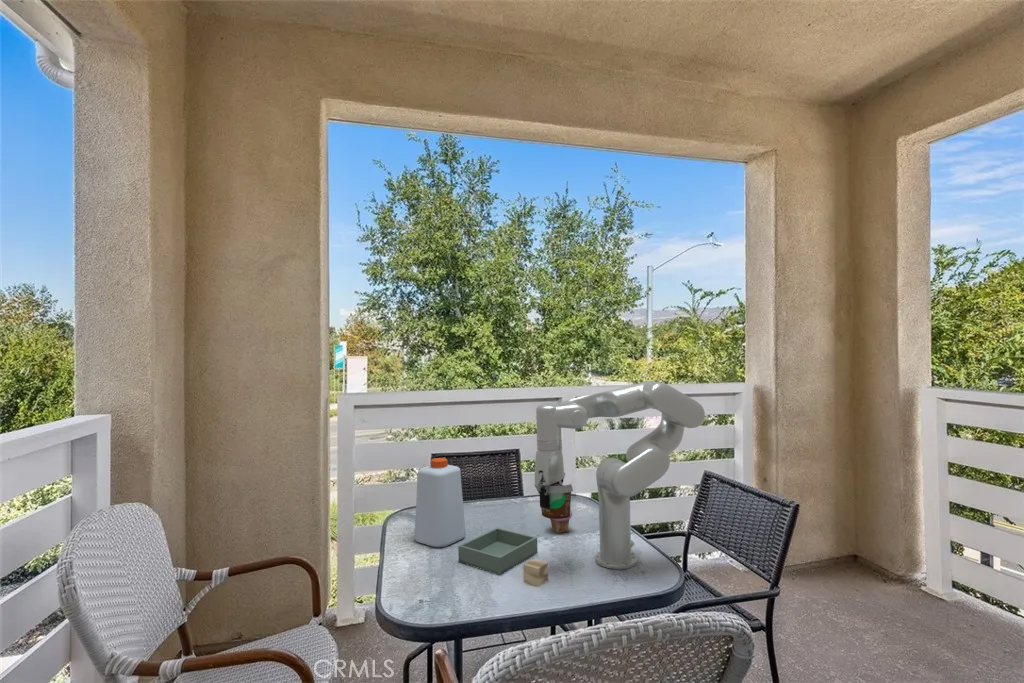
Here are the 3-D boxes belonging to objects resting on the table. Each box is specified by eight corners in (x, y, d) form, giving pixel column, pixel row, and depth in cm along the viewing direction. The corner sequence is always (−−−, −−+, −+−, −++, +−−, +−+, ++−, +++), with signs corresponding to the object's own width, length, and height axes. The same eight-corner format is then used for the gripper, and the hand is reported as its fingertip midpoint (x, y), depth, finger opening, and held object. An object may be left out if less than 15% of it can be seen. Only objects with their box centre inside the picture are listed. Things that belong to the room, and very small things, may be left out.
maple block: (533, 575, 148) (533, 558, 148) (548, 580, 145) (547, 562, 145) (523, 582, 144) (523, 564, 144) (538, 586, 141) (538, 568, 141)
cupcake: (554, 537, 178) (554, 508, 179) (543, 529, 186) (542, 502, 186) (576, 533, 182) (576, 505, 182) (564, 525, 190) (563, 498, 190)
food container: (529, 514, 156) (528, 482, 156) (541, 509, 160) (541, 478, 160) (561, 523, 147) (560, 488, 147) (573, 517, 152) (572, 484, 152)
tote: (497, 542, 174) (497, 527, 175) (537, 553, 165) (537, 537, 165) (458, 561, 159) (458, 545, 159) (500, 575, 149) (500, 557, 149)
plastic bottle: (470, 536, 180) (469, 457, 181) (440, 550, 168) (439, 466, 168) (439, 528, 189) (438, 453, 190) (409, 541, 177) (408, 461, 177)
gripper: (553, 439, 163) (555, 495, 163) (523, 449, 149) (524, 510, 149) (574, 441, 159) (576, 499, 158) (544, 451, 145) (546, 514, 145)
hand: (551, 504), depth 154 cm, fingers closed on food container, 6 cm apart
